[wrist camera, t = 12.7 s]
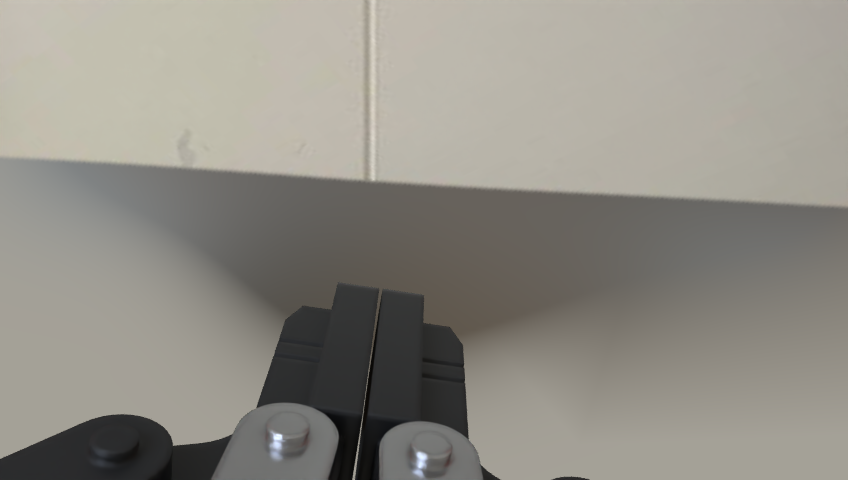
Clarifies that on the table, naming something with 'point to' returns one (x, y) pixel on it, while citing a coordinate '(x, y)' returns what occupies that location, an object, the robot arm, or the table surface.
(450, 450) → the robot arm
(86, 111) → the table surface
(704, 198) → the table surface
